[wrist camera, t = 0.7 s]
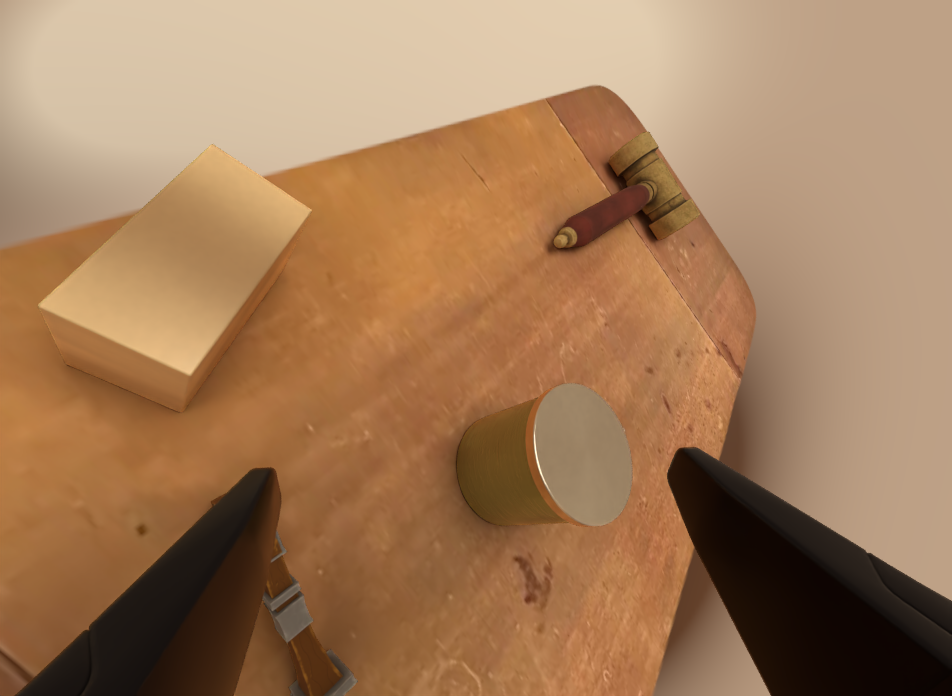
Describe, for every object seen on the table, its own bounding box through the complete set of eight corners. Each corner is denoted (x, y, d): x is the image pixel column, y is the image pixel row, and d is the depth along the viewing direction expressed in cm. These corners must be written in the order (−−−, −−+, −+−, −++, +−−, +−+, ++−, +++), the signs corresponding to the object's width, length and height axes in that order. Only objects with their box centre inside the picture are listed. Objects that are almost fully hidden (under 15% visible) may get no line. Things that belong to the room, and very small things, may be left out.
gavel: (614, 285, 32) (540, 169, 31) (571, 308, 35) (504, 205, 35) (707, 210, 44) (655, 127, 44) (668, 233, 48) (619, 156, 48)
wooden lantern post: (235, 463, 16) (285, 497, 13) (304, 622, 19) (361, 684, 15) (182, 490, 15) (222, 535, 12) (263, 657, 17) (315, 732, 14)
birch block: (181, 413, 17) (190, 376, 13) (63, 363, 15) (35, 305, 11) (284, 269, 21) (313, 209, 17) (200, 219, 20) (212, 142, 16)
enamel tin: (532, 546, 24) (629, 547, 19) (437, 504, 21) (520, 493, 17) (550, 440, 27) (636, 418, 22) (470, 393, 25) (547, 358, 20)
